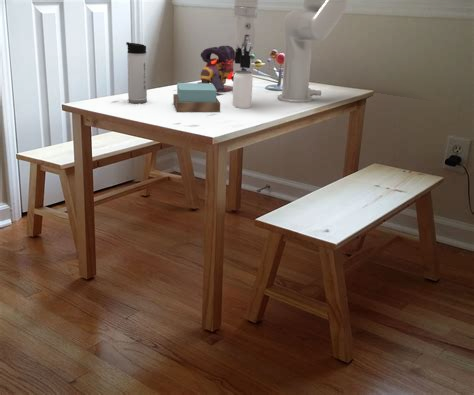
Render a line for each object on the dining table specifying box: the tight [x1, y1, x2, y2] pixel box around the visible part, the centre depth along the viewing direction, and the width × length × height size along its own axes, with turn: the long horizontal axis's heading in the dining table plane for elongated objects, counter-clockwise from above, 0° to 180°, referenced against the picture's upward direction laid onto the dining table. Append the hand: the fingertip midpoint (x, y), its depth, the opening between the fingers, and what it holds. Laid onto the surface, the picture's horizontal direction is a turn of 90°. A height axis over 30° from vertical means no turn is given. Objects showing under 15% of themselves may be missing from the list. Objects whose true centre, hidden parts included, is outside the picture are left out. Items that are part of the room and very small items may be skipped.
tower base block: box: [172, 93, 221, 113], centre depth 210 cm, size 14×14×4 cm
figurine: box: [197, 45, 236, 93], centre depth 239 cm, size 20×14×17 cm
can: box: [232, 70, 254, 109], centre depth 214 cm, size 6×6×12 cm
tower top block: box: [176, 82, 218, 103], centre depth 209 cm, size 12×12×4 cm
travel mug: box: [125, 41, 148, 105], centre depth 213 cm, size 6×7×20 cm
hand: (242, 65), depth 210 cm, fingers open, 9 cm apart
